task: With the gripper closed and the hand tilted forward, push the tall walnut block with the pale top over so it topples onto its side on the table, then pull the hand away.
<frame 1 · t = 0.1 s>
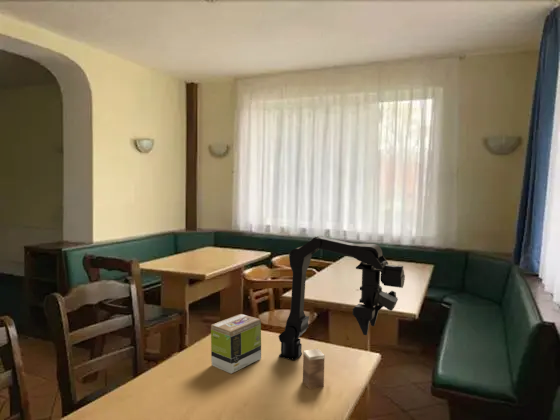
hand: (369, 330, 140), 15 cm above the table, tool pointing down, fingers open, 9 cm apart
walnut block: (313, 383, 134), on the table
tea box: (236, 363, 148), on the table
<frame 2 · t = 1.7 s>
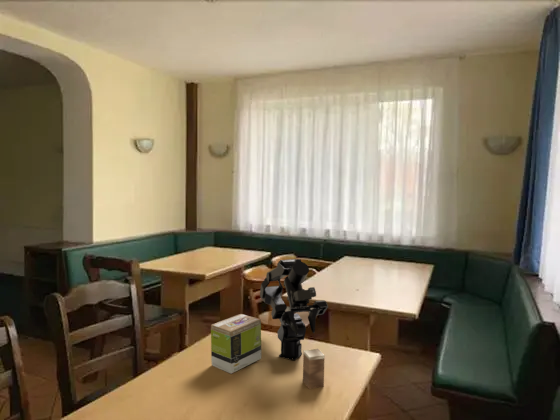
hand: (305, 333, 140), 14 cm above the table, tool tilted 45°, fingers open, 5 cm apart
nothing on the table moved.
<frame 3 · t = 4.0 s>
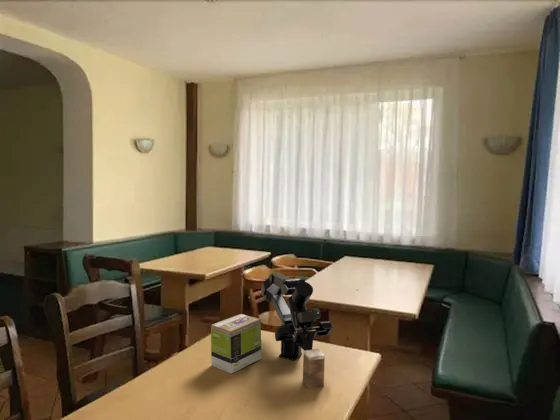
hand: (310, 356, 136), 8 cm above the table, tool tilted 45°, fingers closed, pressing on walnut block
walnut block: (313, 383, 134), on the table, touching gripper
everything else where it was.
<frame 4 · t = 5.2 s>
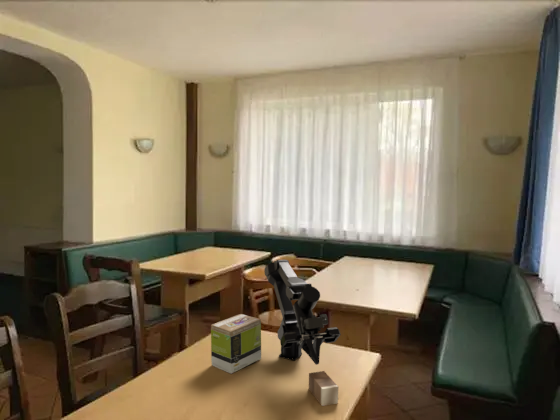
hand: (317, 364, 131), 8 cm above the table, tool tilted 45°, fingers closed
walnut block: (316, 379, 132), point 2 cm above the table, tilted 90°
everything else where it was.
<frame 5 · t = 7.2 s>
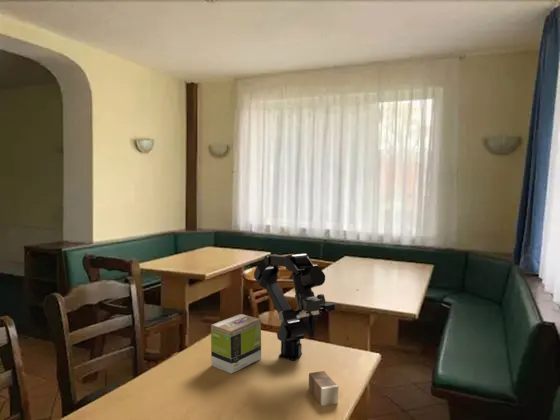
hand: (312, 337, 142), 11 cm above the table, tool tilted 20°, fingers closed
nothing on the table moved.
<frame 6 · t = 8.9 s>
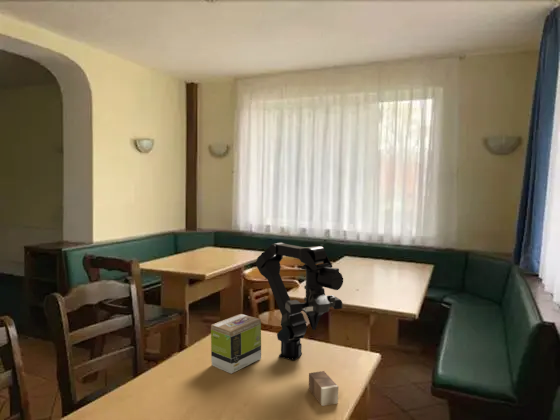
hand: (313, 329, 145), 13 cm above the table, tool pointing down, fingers closed
nothing on the table moved.
at the end: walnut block tilted 90°; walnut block inside the target area (4.0 cm from its centre), point 2.4 cm above the table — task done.
